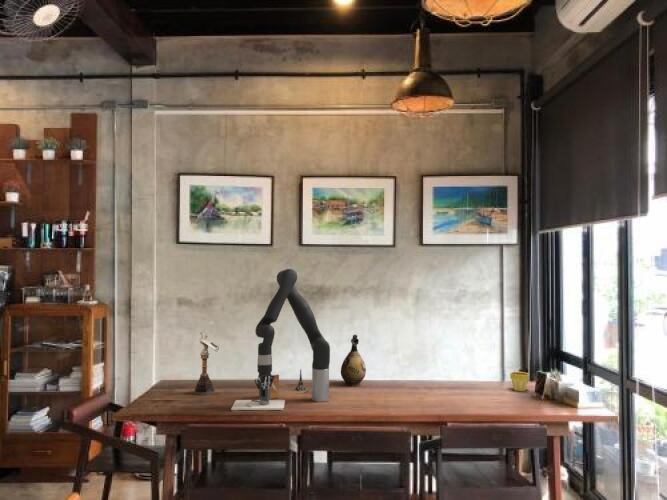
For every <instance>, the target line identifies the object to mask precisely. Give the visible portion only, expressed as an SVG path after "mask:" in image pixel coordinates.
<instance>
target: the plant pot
mask: <svg viewBox="0 0 667 500" xmlns="http://www.w3.org/2000/svg"><path fill="white" fill-rule="evenodd" d="M509 375H510V379H511V384H512V389H513V391H515V392H525V391H526V389H527V386H528V385H527V384H528V381H529V379H530V374H529V373H528V372H524V371H511V372H510V373H509Z"/></svg>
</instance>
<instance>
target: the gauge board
mask: <svg viewBox="0 0 667 500" xmlns="http://www.w3.org/2000/svg"><path fill="white" fill-rule="evenodd" d="M252 400H253V399H236V400H235V401H234V403H233V405H232V406H231V408H230V411H231V410H283V411H284V409H283V408H285V403H286V400H285V399H270V400H269V404H267V405H261V404H260V402H255V401H252ZM256 400H257V401H260V399H256Z"/></svg>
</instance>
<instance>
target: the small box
mask: <svg viewBox="0 0 667 500" xmlns="http://www.w3.org/2000/svg"><path fill="white" fill-rule="evenodd" d="M271 375H273V376H274V380H273V383H272V386H271V387H269V388H270V400H273V399H278V398H279V397H280V395H279V393H280V374H279V373H276V372H271ZM263 384H264V383H263ZM266 385H267V384H266ZM262 387H263V385H262ZM272 398H273V399H272Z"/></svg>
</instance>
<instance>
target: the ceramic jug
mask: <svg viewBox="0 0 667 500" xmlns="http://www.w3.org/2000/svg"><path fill="white" fill-rule="evenodd" d="M359 341H360V340H359V338H358V334H353V335H352V338H351V340H350V342H351V349H350V351H349V352H348V354H347V355H346V356H345V358H344V359H343V361H342V364H341V368H340V376H341V378H342V380H343V382H344V385H345V386H349V387H357V386H360V385H361V383H362V381H363V380H364V379H365V377H366V374H367V370H366V364H365V361H364V360H363V357H362V356H361V354H360V352H359V350H358V347H357V346H358V345H359Z"/></svg>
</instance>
